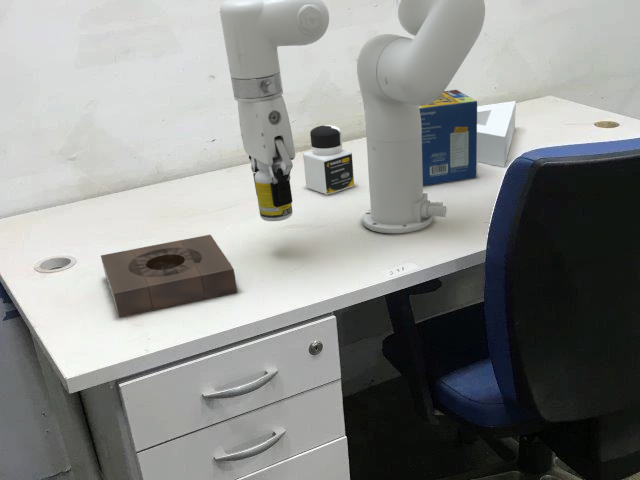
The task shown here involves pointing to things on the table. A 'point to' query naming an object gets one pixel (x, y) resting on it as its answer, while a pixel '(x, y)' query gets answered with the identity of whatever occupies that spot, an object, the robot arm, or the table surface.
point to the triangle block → (495, 132)
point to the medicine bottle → (328, 162)
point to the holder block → (168, 275)
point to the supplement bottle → (269, 195)
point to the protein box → (449, 138)
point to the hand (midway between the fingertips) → (274, 198)
